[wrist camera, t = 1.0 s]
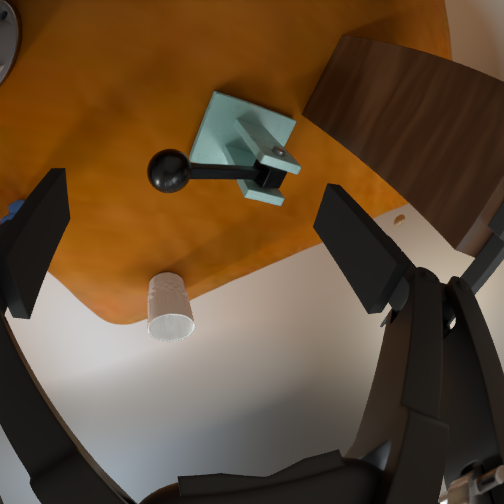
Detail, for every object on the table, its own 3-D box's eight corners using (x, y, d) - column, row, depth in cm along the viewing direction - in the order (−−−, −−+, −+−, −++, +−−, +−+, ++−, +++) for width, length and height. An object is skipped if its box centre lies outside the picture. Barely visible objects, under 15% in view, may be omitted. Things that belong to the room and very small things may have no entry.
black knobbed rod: (136, 179, 24) (153, 203, 22) (146, 140, 22) (165, 160, 20) (259, 179, 35) (280, 197, 33) (272, 152, 33) (294, 168, 31)
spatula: (395, 335, 25) (403, 348, 24) (542, 126, 13) (557, 137, 12) (429, 331, 29) (437, 342, 27) (554, 160, 16) (565, 169, 15)
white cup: (195, 283, 57) (204, 326, 50) (166, 304, 59) (171, 346, 51) (166, 262, 52) (171, 307, 45) (136, 285, 53) (137, 330, 46)
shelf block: (301, 114, 40) (454, 250, 19) (342, 34, 33) (541, 101, 11) (360, 142, 46) (495, 266, 24) (397, 73, 38) (560, 162, 17)
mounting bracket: (188, 156, 40) (201, 210, 31) (214, 90, 35) (238, 119, 25) (264, 176, 46) (298, 230, 36) (292, 118, 40) (340, 157, 31)
